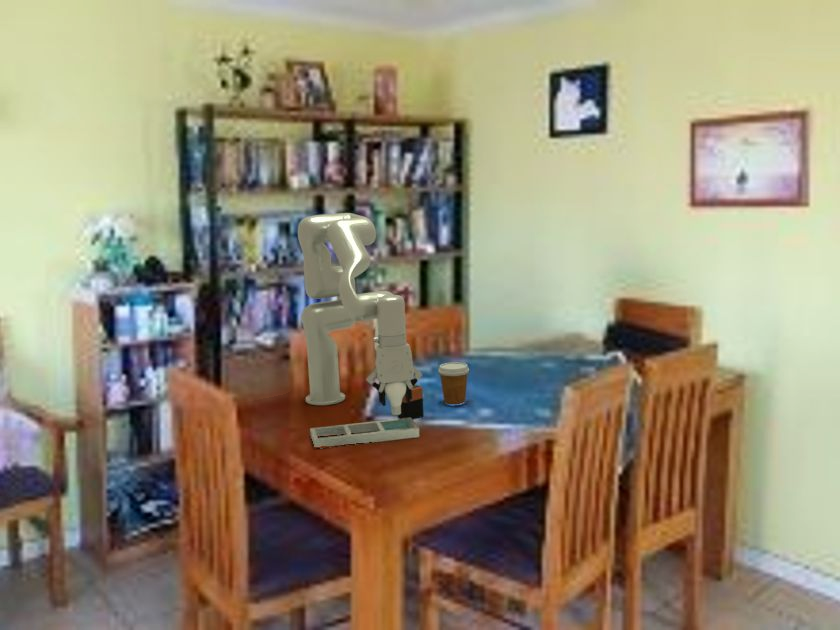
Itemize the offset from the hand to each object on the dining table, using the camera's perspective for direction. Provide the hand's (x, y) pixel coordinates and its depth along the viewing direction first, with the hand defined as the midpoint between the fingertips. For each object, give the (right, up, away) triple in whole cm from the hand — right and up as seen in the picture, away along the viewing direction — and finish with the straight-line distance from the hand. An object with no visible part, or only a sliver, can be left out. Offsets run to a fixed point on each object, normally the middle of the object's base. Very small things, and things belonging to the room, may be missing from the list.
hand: (395, 402), depth 238 cm
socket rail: (-9, -9, 0) cm, 13 cm away
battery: (+4, -6, +16) cm, 17 cm away
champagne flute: (-5, +1, +52) cm, 52 cm away
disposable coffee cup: (+17, -3, +28) cm, 33 cm away
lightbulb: (0, -4, +1) cm, 4 cm away
